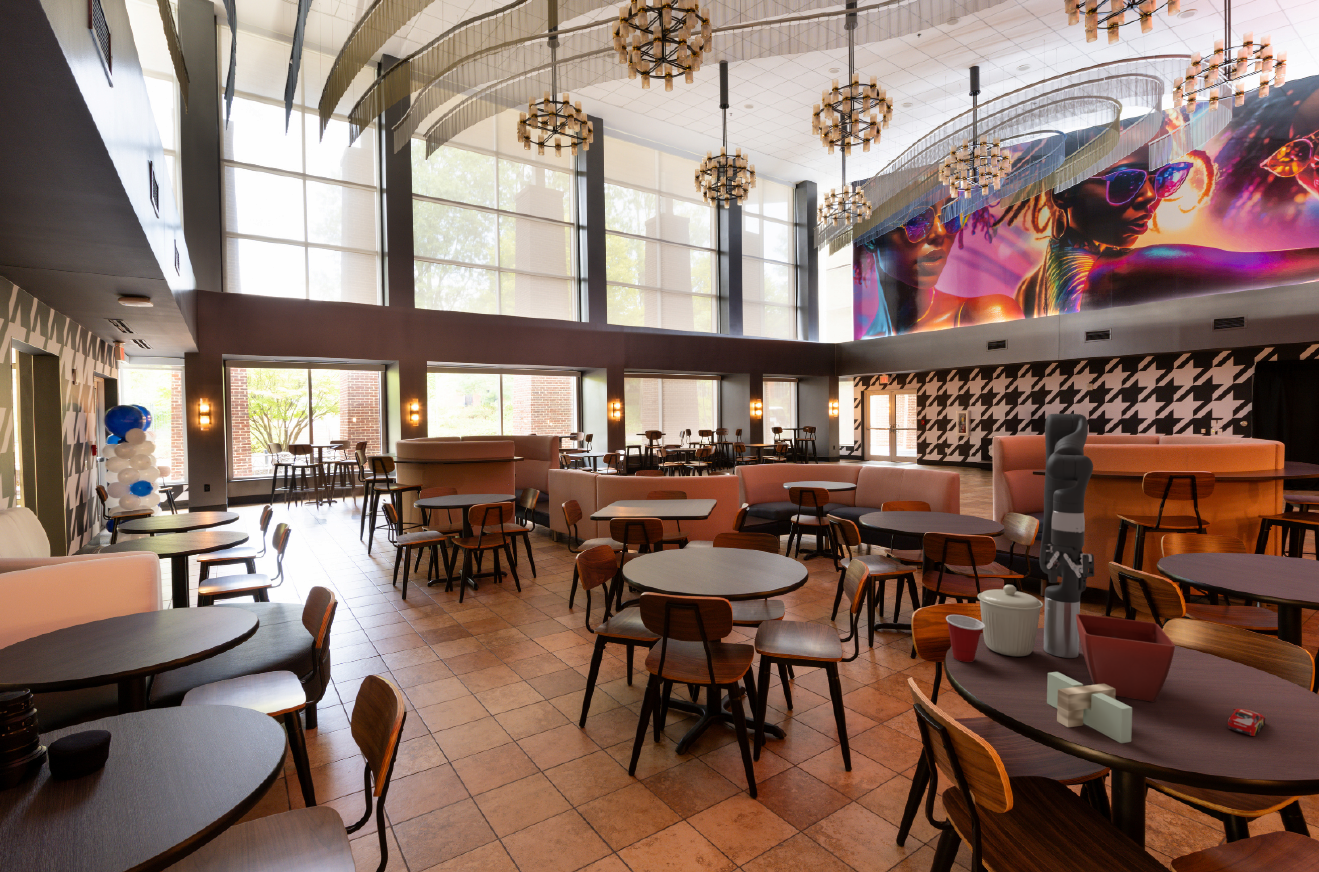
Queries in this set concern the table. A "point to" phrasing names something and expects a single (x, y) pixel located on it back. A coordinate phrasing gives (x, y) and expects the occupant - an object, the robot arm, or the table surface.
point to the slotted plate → (1078, 702)
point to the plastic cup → (964, 636)
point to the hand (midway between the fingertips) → (1066, 586)
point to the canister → (1009, 620)
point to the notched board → (1096, 709)
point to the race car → (1246, 721)
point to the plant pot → (1126, 655)
